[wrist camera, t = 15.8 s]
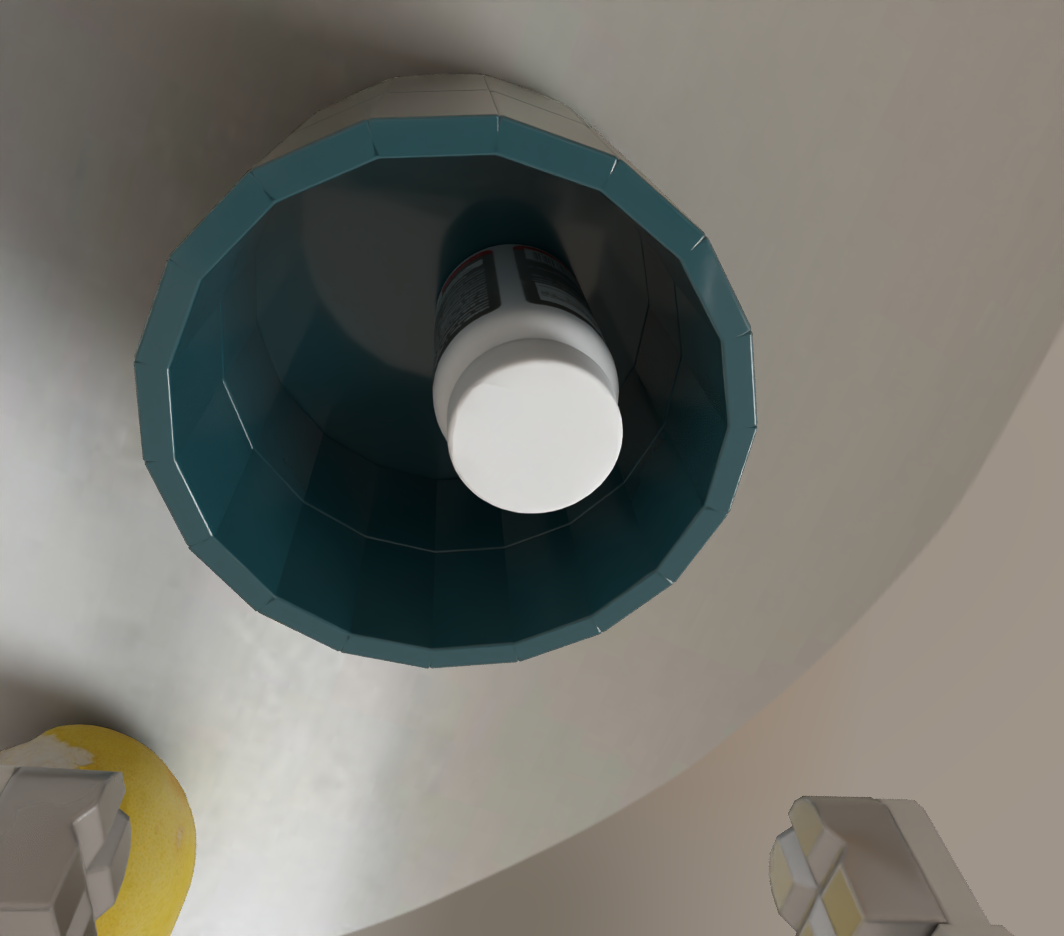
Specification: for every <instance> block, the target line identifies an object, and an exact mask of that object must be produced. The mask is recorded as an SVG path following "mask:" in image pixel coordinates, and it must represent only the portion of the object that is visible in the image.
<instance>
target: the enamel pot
mask: <svg viewBox="0 0 1064 936" xmlns="http://www.w3.org/2000/svg"><path fill="white" fill-rule="evenodd" d="M504 244H518V245H526V246H531V247H535V248H538V249H541V250H543V251H545V252H547V253H549V254H551V255H552V256H554V257H555V258H557V259H558V260H559V261H561V262H562V263H563V264H564V265H565V266H566V267H567V268H568V269H569V271H570V272H571V273H572V274H573V276H574V277H575V278H576V280H577V282H578V284H579V285H580V287H581V289H582V292H583V294H584V296H585V298H586V300H587V303H588V305H589V307H590V309H591V311H592V314H593V316H594V318H595V320H596V322H597V325H598V327H599V329H600V331H601V333H602V335H603V338H604V340H605V342H606V344H607V346H608V348H609V350H610V352H611V355H612V357H613V360H614V364H615V367H616V371H617V376H618V382H619V398H618V407H619V411H620V414H621V418H622V427H623V438H622V445H621V449H620V453H619V456H618V459H617V461H616V463H615V465H614V467H613V469H612V471H611V472H610V474H609V475H608V476H607V478H606V479H605V480H604V481H603V482H602V484H601V485H600V486H599V487H598V488H596V490H594V491H593V492H592V493H591V494H589V495H588V496H586V497H585V498H583V499H582V500H580V501H578V502H577V503H575V504H573V505H570V506H567V507H565V508H562V509H559V510H555V511H550V512H544V513H518V512H513V511H509V510H505V509H501V508H498V507H496V506H493V505H492V504H490V503H488V502H486V501H484V500H482V499H481V498H479V497H478V496H477V495H475V494H474V493H473V492H472V491H471V490H470V489H469V488H468V487H467V486H466V485H465V484H464V482H463V481H462V480H461V479H460V477H459V476H458V474H457V472H456V470H455V468H454V466H453V464H452V461H451V458H450V455H449V450H448V442H447V440H446V439H445V437H444V435H443V434H442V432H441V429H440V427H439V425H438V422H437V418H436V415H435V410H434V404H433V392H432V386H433V363H434V326H435V312H436V307H437V301H438V298H439V295H440V292H441V290H442V287H443V285H444V283H445V282H446V280H447V278H448V277H449V275H450V274H451V273H452V272H453V270H454V269H455V268H456V267H457V266H458V265H459V264H460V263H462V262H463V261H464V260H465V259H467V258H468V257H470V256H471V255H473V254H475V253H477V252H479V251H481V250H483V249H486V248H489V247H492V246H497V245H504ZM134 371H135V382H136V392H137V403H138V413H139V424H140V434H141V445H142V455H143V460H144V461H145V465H146V467H147V469H148V471H149V473H150V475H151V477H152V479H153V481H154V483H155V484H156V486H157V488H158V490H159V492H160V494H161V496H162V498H163V500H164V502H165V504H166V506H167V507H168V509H169V511H170V513H171V515H172V517H173V519H174V521H175V523H176V525H177V527H178V529H179V530H180V532H181V534H182V536H183V538H184V540H185V542H186V544H187V545H188V546H189V549H190V550H191V551H192V552H193V553H194V554H195V555H196V556H197V557H198V558H199V559H200V560H202V561H203V562H204V563H205V564H206V565H207V566H208V567H209V568H210V569H211V570H212V571H213V572H214V573H215V574H217V575H218V576H219V577H220V578H221V579H222V580H223V581H224V582H225V583H226V584H227V585H228V586H229V587H230V588H232V589H233V590H234V591H235V592H236V593H237V594H238V595H239V596H240V597H241V598H242V599H243V600H244V601H245V602H247V603H248V604H249V605H250V606H251V607H252V608H253V609H254V610H255V611H258V612H259V613H261V614H263V615H265V616H267V617H269V618H271V619H273V620H275V621H277V622H279V623H281V624H283V625H285V626H287V627H289V628H291V629H293V630H295V631H298V632H300V633H302V634H304V635H306V636H308V637H310V638H312V639H314V640H316V641H318V642H320V643H322V644H324V645H326V646H328V647H330V648H332V649H334V650H337V651H341V652H342V653H347V654H352V655H358V656H363V657H368V658H374V659H379V660H385V661H390V662H395V663H401V664H406V665H411V666H417V667H422V668H429V667H430V668H443V667H456V666H470V665H484V664H497V663H511V662H517V661H518V660H519V661H523V660H526V659H529V658H532V657H535V656H538V655H541V654H544V653H546V652H549V651H552V650H555V649H558V648H561V647H564V646H567V645H570V644H572V643H575V642H578V641H581V640H584V639H587V638H590V637H593V636H596V635H598V634H600V633H601V632H605V631H606V630H607V629H609V628H610V627H612V626H613V625H615V624H616V623H617V622H619V621H620V620H622V619H623V618H625V617H626V616H628V615H629V614H630V613H632V612H633V611H635V610H636V609H638V608H639V607H640V606H642V605H643V604H645V603H646V602H648V601H649V600H651V599H652V598H653V597H655V596H656V595H658V594H659V593H661V592H662V591H663V590H665V589H666V588H668V587H669V586H671V585H672V584H673V582H676V581H677V579H678V578H679V577H680V575H681V574H682V573H683V572H684V570H685V569H686V568H687V566H688V565H689V564H690V563H691V561H692V560H693V559H694V557H695V556H696V555H697V554H698V552H699V551H700V550H701V548H702V547H703V546H704V545H705V543H706V542H707V541H708V539H709V538H710V537H711V536H712V534H713V533H714V532H715V530H716V529H717V528H718V527H719V525H720V524H721V523H722V521H723V520H724V519H725V518H726V516H727V515H728V512H730V509H731V506H732V503H733V500H734V497H735V494H736V491H737V488H738V485H739V482H740V479H741V476H742V473H743V470H744V467H745V464H746V461H747V458H748V455H749V452H750V449H751V446H752V443H753V440H754V437H755V434H756V431H757V426H756V425H757V409H756V390H755V371H754V353H753V334H752V332H751V326H750V324H749V322H748V320H747V318H746V316H745V313H744V311H743V309H742V307H741V305H740V303H739V301H738V299H737V297H736V295H735V293H734V291H733V289H732V286H731V284H730V282H729V280H728V278H727V276H726V274H725V272H724V270H723V268H722V266H721V264H720V261H719V259H718V257H717V255H716V253H715V251H714V249H713V247H712V245H711V243H710V241H709V239H708V238H707V237H706V236H705V233H704V232H703V231H702V230H701V229H700V228H699V227H698V226H697V225H696V224H695V223H694V222H693V221H692V220H691V219H689V218H688V217H687V216H686V215H685V214H684V213H683V212H682V211H681V210H680V209H679V208H678V207H677V206H676V205H675V204H674V203H673V202H672V201H671V200H670V199H668V198H667V197H666V196H665V195H664V194H663V193H662V192H661V191H660V190H659V189H658V188H657V187H656V186H655V185H654V184H653V183H652V182H651V181H650V180H649V179H648V178H646V177H645V176H644V175H643V174H642V173H641V172H640V171H639V170H638V169H637V168H636V167H635V166H634V165H633V164H632V163H631V162H630V161H629V160H628V159H627V158H625V157H624V156H623V155H622V154H621V153H620V152H619V151H618V150H616V149H615V148H614V147H613V146H612V145H611V144H610V143H609V142H608V141H606V140H605V139H604V138H603V137H602V136H601V135H600V134H599V133H597V132H596V131H595V130H594V129H593V128H592V127H591V126H590V125H589V124H587V123H586V122H585V121H584V120H583V119H582V118H581V117H580V116H578V115H577V114H576V113H575V112H574V111H573V110H572V109H571V108H570V107H568V106H567V105H565V104H564V103H562V102H559V101H556V100H553V99H551V98H548V97H545V96H543V95H541V94H538V93H536V92H533V91H531V90H528V89H526V88H523V87H521V86H518V85H516V84H513V83H509V82H505V81H502V80H500V79H497V78H494V77H491V76H489V75H484V76H483V75H482V74H453V73H447V74H427V75H416V76H398V77H396V78H390V79H388V80H386V81H384V82H381V83H379V84H377V85H375V86H372V87H370V88H367V89H364V90H361V91H359V92H356V93H355V94H353V95H351V96H349V97H347V98H345V99H343V100H341V101H339V102H336V103H334V104H332V105H330V106H327V107H325V108H323V109H321V110H319V111H318V112H316V113H314V114H313V115H312V116H311V117H310V118H308V119H307V120H306V121H305V122H304V123H303V124H302V125H300V126H299V127H298V128H297V129H296V130H295V131H294V132H292V133H291V134H290V135H289V136H288V137H287V138H285V139H284V140H283V141H282V142H281V143H280V144H279V145H277V146H276V147H275V148H274V149H273V150H272V151H271V152H269V153H268V154H267V155H266V156H265V157H264V158H263V159H261V160H260V161H259V162H258V163H257V164H256V165H254V166H253V167H252V168H251V169H250V170H249V171H248V172H247V173H246V174H245V175H244V176H243V177H242V178H241V179H240V180H239V181H238V182H237V183H236V184H235V185H234V187H233V188H232V189H231V190H230V191H229V192H228V193H227V194H226V195H225V196H224V197H223V198H222V199H221V200H220V202H219V203H218V204H217V205H216V206H215V207H214V208H213V209H212V210H211V211H210V212H209V213H208V214H207V215H206V217H205V218H204V219H203V220H202V221H201V222H200V223H199V224H198V225H197V226H196V227H195V228H194V229H193V231H192V232H191V233H190V234H189V235H188V236H187V237H186V238H185V239H184V240H183V241H182V242H181V243H180V244H179V246H178V247H177V248H176V249H175V250H174V251H173V252H172V253H171V254H170V255H169V259H168V260H167V262H166V265H165V268H164V271H163V274H162V277H161V280H160V283H159V286H158V289H157V291H156V294H155V297H154V300H153V303H152V306H151V309H150V312H149V315H148V318H147V321H146V324H145V327H144V330H143V333H142V336H141V339H140V342H139V345H138V348H137V351H136V354H135V361H134Z"/></svg>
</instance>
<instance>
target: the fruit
mask: <svg viewBox="0 0 1064 936" xmlns="http://www.w3.org/2000/svg"><path fill="white" fill-rule="evenodd" d="M0 765H16V766H32V767H48V768H65V769H81V770H98V771H114V772H122V774H123V779H124V784H125V789H126V792H125V795H124V797H123V800H122V802H121V804H120V807H119V808H120V809H121V810H122V811H123V812H125V813H126V814H127V815H128V816H129V817H130V823H131V848H130V854H129V859H128V863H127V867H126V872H125V876H124V880H123V883H122V885H121V888H120V891H119V894H118V896H117V899H116V902H115V904H114V905H113V906H112V907H111V908H109V909H108V910H107V911H106V912H105V913H104V914H103V915H102V916H100V917H99V918H98V919H97V920H96V921H95V923H96V929H97V934H98V936H170V934H171V933H172V930H173V928H174V926H175V923H176V921H177V918H178V916H179V913H180V911H181V908H182V906H183V903H184V901H185V898H186V896H187V893H188V890H189V888H190V884H191V880H192V877H193V872H194V866H195V857H196V830H195V825H194V819H193V815H192V812H191V809H190V807H189V804H188V801H187V798H186V795H185V793H184V791H183V789H182V787H181V786H180V784H179V782H178V780H177V779H176V778H175V777H174V775H173V774H172V773H171V771H170V770H169V769H168V767H167V766H166V765H165V763H164V762H163V761H162V760H161V759H160V758H159V757H158V756H157V755H156V754H155V753H154V752H153V751H152V750H150V749H149V748H148V747H146V746H145V745H143V744H142V743H140V742H138V741H137V740H135V739H133V738H131V737H129V736H127V735H124V734H122V733H119V732H117V731H114V730H112V729H108V728H104V727H99V726H95V725H81V724H77V725H64V726H58V727H54V728H52V729H50V730H48V731H46V732H44V733H42V734H41V735H39V736H38V737H36V738H34V739H33V740H31V741H29V742H26V743H23V744H20V745H17V746H14V747H12V748H9V749H8V748H6V749H4V750H1V751H0Z"/></svg>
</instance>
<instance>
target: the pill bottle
mask: <svg viewBox="0 0 1064 936" xmlns="http://www.w3.org/2000/svg"><path fill="white" fill-rule="evenodd" d="M432 392H433V404H434V410H435V415H436V418H437V422H438V425H439V427H440V429H441V432H442V434H443V435H444V437H445V439H446V440H447V442H448V450H449V455H450V458H451V461H452V464H453V466H454V468H455V470H456V472H457V474H458V476H459V477H460V479H461V480H462V481H463V482H464V484H465V485H466V486H467V487H468V488H469V489H470V490H471V491H472V492H473V493H474V494H475V495H477V496H478V497H479V498H481V499H482V500H484V501H486V502H488V503H490V504H492V505H493V506H496V507H498V508H501V509H505V510H509V511H513V512H518V513H544V512H550V511H555V510H559V509H562V508H565V507H567V506H570V505H573V504H575V503H577V502H578V501H580V500H582V499H583V498H585V497H586V496H588V495H589V494H591V493H592V492H593V491H594V490H596V488H598V487H599V486H600V485H601V484H602V482H603V481H604V480H605V479H606V478H607V476H608V475H609V474H610V472H611V471H612V469H613V467H614V465H615V463H616V461H617V459H618V456H619V453H620V449H621V445H622V438H623V427H622V418H621V414H620V411H619V407H618V398H619V382H618V376H617V371H616V367H615V364H614V360H613V357H612V355H611V352H610V350H609V348H608V346H607V344H606V342H605V340H604V338H603V335H602V333H601V331H600V329H599V327H598V325H597V322H596V320H595V318H594V316H593V314H592V311H591V309H590V307H589V305H588V303H587V300H586V298H585V296H584V294H583V292H582V289H581V287H580V285H579V284H578V282H577V280H576V278H575V277H574V276H573V274H572V273H571V272H570V271H569V269H568V268H567V267H566V266H565V265H564V264H563V263H562V262H561V261H559V260H558V259H557V258H555V257H554V256H552V255H551V254H549V253H547V252H545V251H543V250H541V249H538V248H535V247H531V246H526V245H518V244H504V245H497V246H492V247H489V248H486V249H483V250H481V251H479V252H477V253H475V254H473V255H471V256H470V257H468V258H467V259H465V260H464V261H463V262H462V263H460V264H459V265H458V266H457V267H456V268H455V269H454V270H453V272H452V273H451V274H450V275H449V277H448V278H447V280H446V282H445V283H444V285H443V287H442V290H441V292H440V295H439V298H438V301H437V307H436V312H435V326H434V363H433V386H432Z"/></svg>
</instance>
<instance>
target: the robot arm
mask: <svg viewBox="0 0 1064 936" xmlns="http://www.w3.org/2000/svg"><path fill="white" fill-rule="evenodd" d="M125 792H126V789H125V784H124V779H123V774H122V772H114V771H98V770H81V769H65V768H48V767H32V766H16V765H0V936H98V934H97V929H96V923H95V921H96V920H97V919H98V918H99V917H100V916H102V915H103V914H104V913H105V912H106V911H107V910H108V909H109V908H111V907H112V906H113V905H114V904H115V902H116V899H117V896H118V894H119V891H120V888H121V885H122V883H123V880H124V876H125V872H126V867H127V863H128V859H129V854H130V848H131V823H130V817H129V816H128V815H127V814H126V813H125V812H123V811H122V810H121V809H120V808H119V807H120V804H121V802H122V800H123V797H124V795H125ZM788 815H789V818H790V820H791V823H792V827H790V828H789V829H787V830H786V831H784V832H783V833H781V834H780V835H778V836H777V838H776V840H775V842H774V845H773V847H772V849H771V852H770V861H769V879H770V885H771V891H772V895H773V898H774V901H775V904H776V907H777V910H778V913H779V915H780V916H781V917H782V918H783V919H784V920H785V921H786V922H787V923H788V924H789V925H790V926H791V927H792V928H793V929H794V930H795V931H796V932H797V933H796V936H1014V935H1013V934H1012V933H1010V932H1009V931H1008V930H1007V929H1006V928H1005V927H1003V926H1002V925H991V924H990V923H989V921H988V919H987V917H986V916H985V914H984V912H983V910H982V909H981V907H980V905H979V903H978V902H977V900H976V898H975V896H974V895H973V893H972V891H971V889H970V888H969V886H968V884H967V882H966V881H965V879H964V877H963V876H962V874H961V872H960V870H959V869H958V867H957V865H956V863H955V862H954V860H953V858H952V856H951V855H950V853H949V851H948V850H947V848H946V846H945V844H944V842H943V841H942V839H941V837H940V835H939V834H938V832H937V830H936V829H935V827H934V825H933V823H932V822H931V820H930V818H929V817H928V815H927V813H926V811H925V810H924V808H923V807H922V806H920V805H919V804H918V803H917V802H916V801H915V800H907V799H873V798H871V797H831V796H830V797H829V796H802V797H800V798H799V799H797V800H795V801H794V803H793V805H792V807H791V809H790V811H789V813H788Z"/></svg>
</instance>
